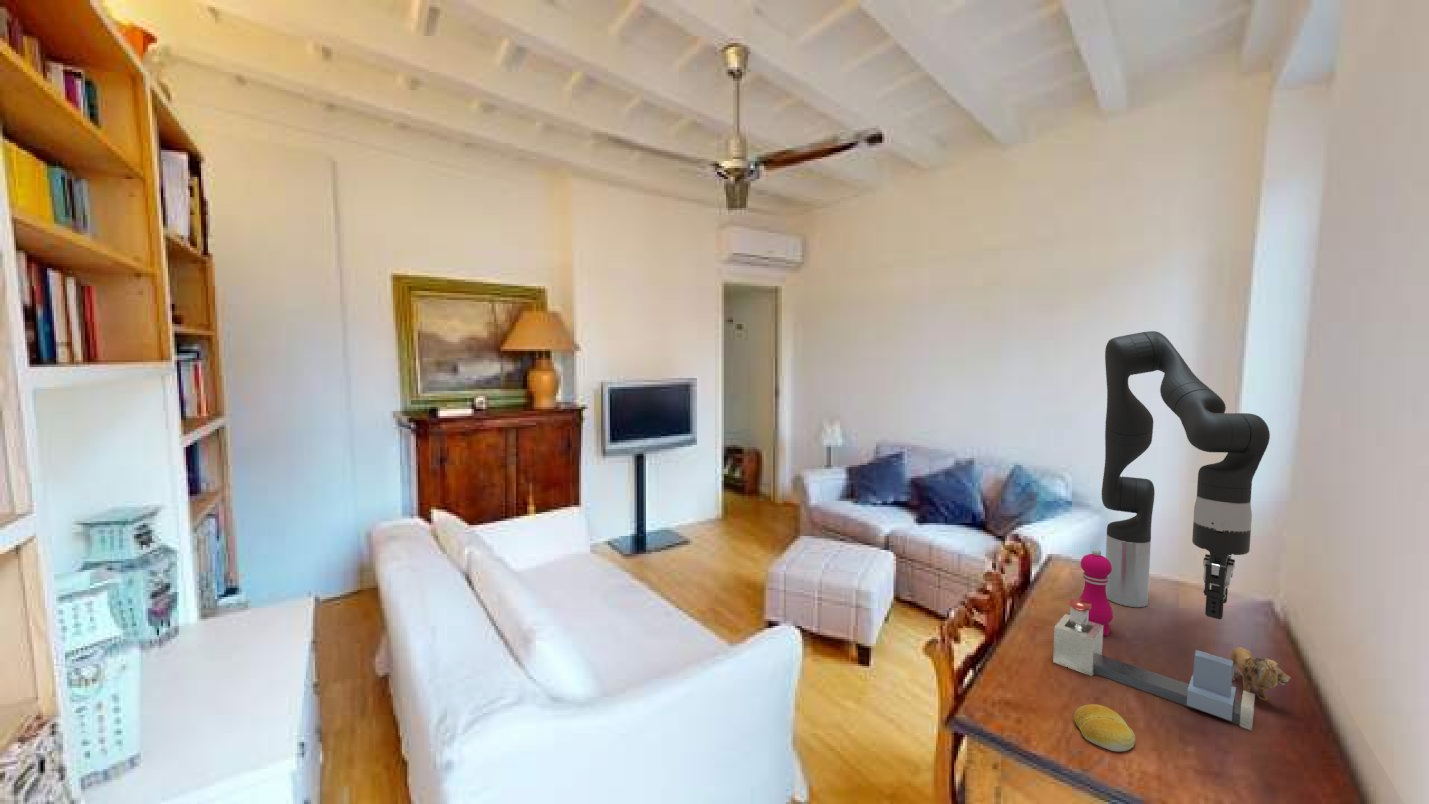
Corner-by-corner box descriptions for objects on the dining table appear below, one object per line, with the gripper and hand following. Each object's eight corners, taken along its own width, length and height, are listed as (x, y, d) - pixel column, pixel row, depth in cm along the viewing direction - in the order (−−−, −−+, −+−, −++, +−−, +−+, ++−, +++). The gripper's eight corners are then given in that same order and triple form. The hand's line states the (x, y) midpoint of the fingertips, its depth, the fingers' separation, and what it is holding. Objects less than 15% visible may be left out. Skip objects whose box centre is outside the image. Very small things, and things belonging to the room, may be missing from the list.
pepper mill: (1100, 622, 130) (1103, 543, 128) (1119, 638, 123) (1123, 554, 121) (1068, 621, 131) (1071, 543, 129) (1086, 637, 123) (1089, 554, 122)
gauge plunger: (1070, 621, 116) (1071, 596, 115) (1092, 628, 113) (1093, 602, 112) (1065, 628, 113) (1066, 602, 113) (1087, 635, 110) (1088, 608, 110)
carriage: (1191, 688, 103) (1194, 644, 102) (1234, 702, 98) (1237, 656, 98) (1186, 705, 98) (1189, 659, 97) (1231, 721, 94) (1234, 672, 93)
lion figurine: (1292, 715, 96) (1296, 668, 95) (1255, 710, 97) (1258, 664, 97) (1239, 669, 110) (1242, 628, 109) (1208, 665, 111) (1210, 624, 111)
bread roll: (1089, 750, 89) (1090, 728, 89) (1067, 715, 98) (1068, 694, 97) (1146, 758, 87) (1147, 735, 87) (1119, 721, 96) (1120, 700, 95)
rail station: (1064, 648, 119) (1065, 614, 118) (1253, 712, 97) (1256, 670, 96) (1053, 662, 114) (1054, 626, 113) (1251, 733, 92) (1254, 690, 91)
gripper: (1198, 510, 103) (1193, 590, 104) (1188, 527, 93) (1183, 615, 95) (1253, 518, 97) (1247, 603, 99) (1248, 537, 88) (1242, 630, 89)
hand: (1216, 609), depth 97 cm, fingers open, 8 cm apart
